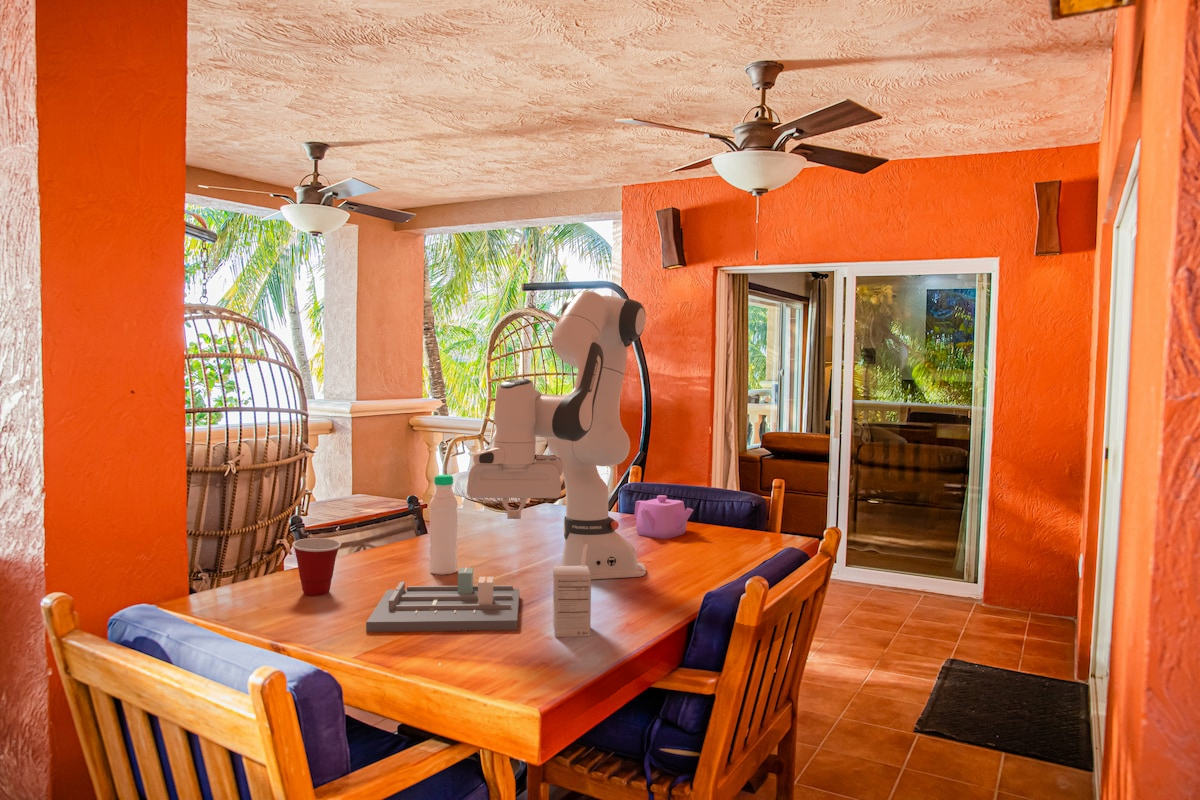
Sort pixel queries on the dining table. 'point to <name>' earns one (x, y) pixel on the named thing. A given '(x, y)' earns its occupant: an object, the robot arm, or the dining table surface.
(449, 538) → the water bottle
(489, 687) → the dining table surface
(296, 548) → the plastic cup
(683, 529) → the teakettle
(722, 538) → the dining table surface
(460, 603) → the console
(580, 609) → the supplement box
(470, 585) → the fader
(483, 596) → the fader
